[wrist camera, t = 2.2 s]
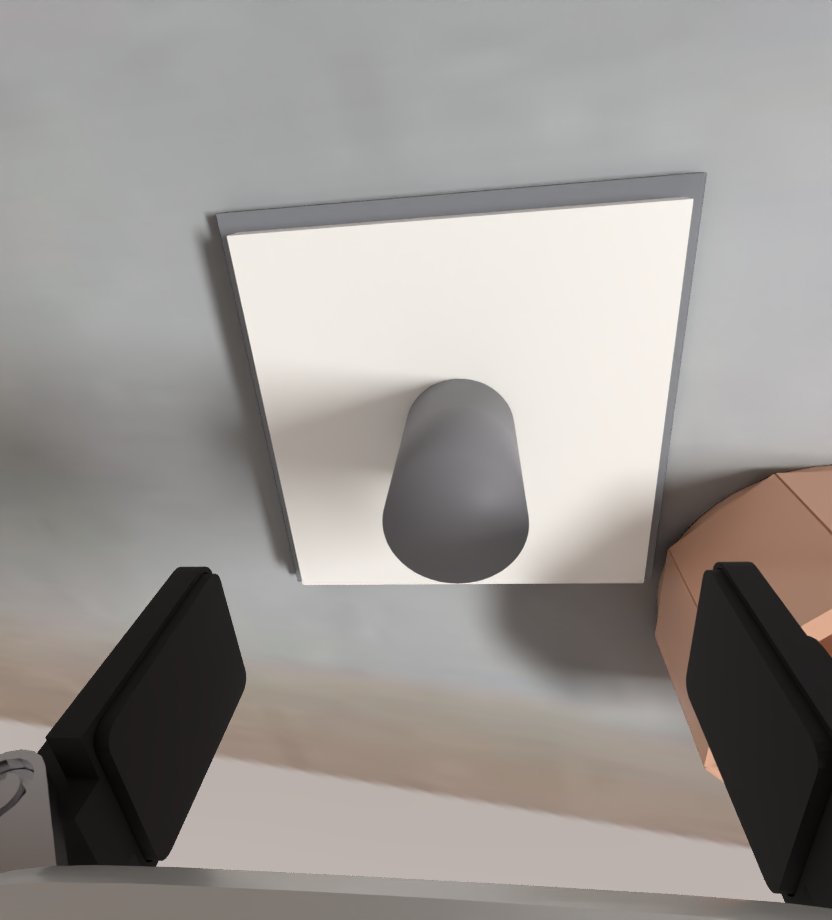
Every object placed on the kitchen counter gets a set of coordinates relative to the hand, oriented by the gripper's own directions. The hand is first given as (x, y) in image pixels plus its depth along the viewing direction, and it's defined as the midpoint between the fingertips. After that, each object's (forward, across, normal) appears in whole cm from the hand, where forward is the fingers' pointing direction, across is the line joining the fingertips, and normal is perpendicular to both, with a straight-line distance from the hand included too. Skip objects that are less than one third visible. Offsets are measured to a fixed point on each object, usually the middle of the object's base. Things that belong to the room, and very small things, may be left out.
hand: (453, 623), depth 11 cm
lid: (+8, 0, -1) cm, 8 cm away
